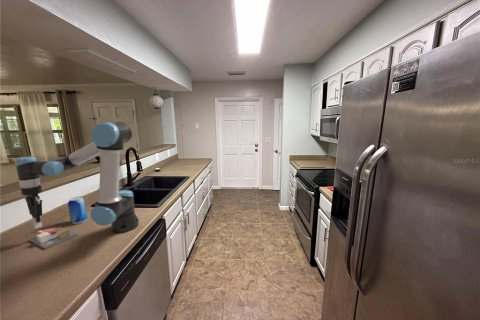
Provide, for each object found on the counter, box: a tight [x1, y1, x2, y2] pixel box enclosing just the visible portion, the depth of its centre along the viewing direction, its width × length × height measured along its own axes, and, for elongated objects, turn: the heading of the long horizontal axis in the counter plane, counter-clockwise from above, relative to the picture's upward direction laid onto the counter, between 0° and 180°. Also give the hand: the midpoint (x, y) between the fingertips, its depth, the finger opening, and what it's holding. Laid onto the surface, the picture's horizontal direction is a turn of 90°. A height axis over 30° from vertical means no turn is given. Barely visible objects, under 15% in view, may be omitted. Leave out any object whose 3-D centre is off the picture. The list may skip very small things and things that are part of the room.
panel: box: [28, 226, 78, 250], centre depth 111 cm, size 18×14×2 cm
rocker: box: [36, 227, 59, 235], centre depth 112 cm, size 5×8×1 cm, turn 155°
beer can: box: [67, 196, 88, 225], centre depth 128 cm, size 8×8×16 cm
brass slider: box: [56, 228, 70, 239], centre depth 110 cm, size 4×4×4 cm
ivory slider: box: [36, 232, 51, 243], centre depth 107 cm, size 4×4×4 cm
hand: (38, 227), depth 109 cm, fingers closed
